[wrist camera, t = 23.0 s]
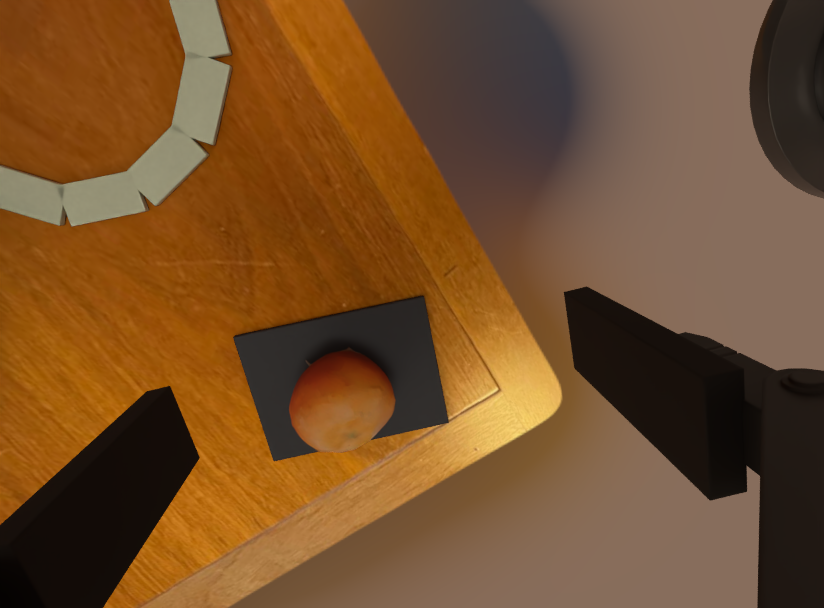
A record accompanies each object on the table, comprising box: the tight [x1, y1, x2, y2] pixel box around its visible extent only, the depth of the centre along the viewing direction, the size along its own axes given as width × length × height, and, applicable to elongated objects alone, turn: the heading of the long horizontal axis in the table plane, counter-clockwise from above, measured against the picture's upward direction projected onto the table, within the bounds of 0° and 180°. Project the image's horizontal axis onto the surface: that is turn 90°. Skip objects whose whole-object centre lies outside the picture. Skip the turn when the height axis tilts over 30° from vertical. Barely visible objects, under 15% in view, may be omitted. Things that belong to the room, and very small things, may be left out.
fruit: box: [289, 347, 396, 452], centre depth 36 cm, size 8×8×8 cm
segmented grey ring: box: [0, 0, 232, 226], centre depth 31 cm, size 24×24×1 cm
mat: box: [233, 296, 449, 461], centre depth 39 cm, size 16×12×1 cm
